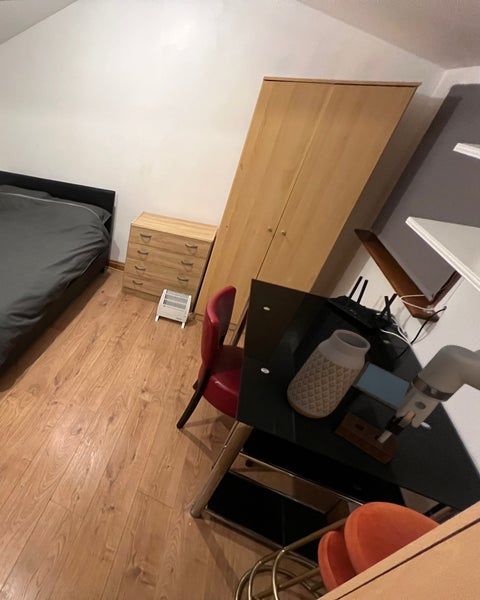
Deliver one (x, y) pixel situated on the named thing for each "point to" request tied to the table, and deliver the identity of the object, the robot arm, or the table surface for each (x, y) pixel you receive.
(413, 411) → the robot arm
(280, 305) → the table surface
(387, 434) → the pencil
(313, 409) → the vase
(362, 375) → the tablet
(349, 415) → the holder
